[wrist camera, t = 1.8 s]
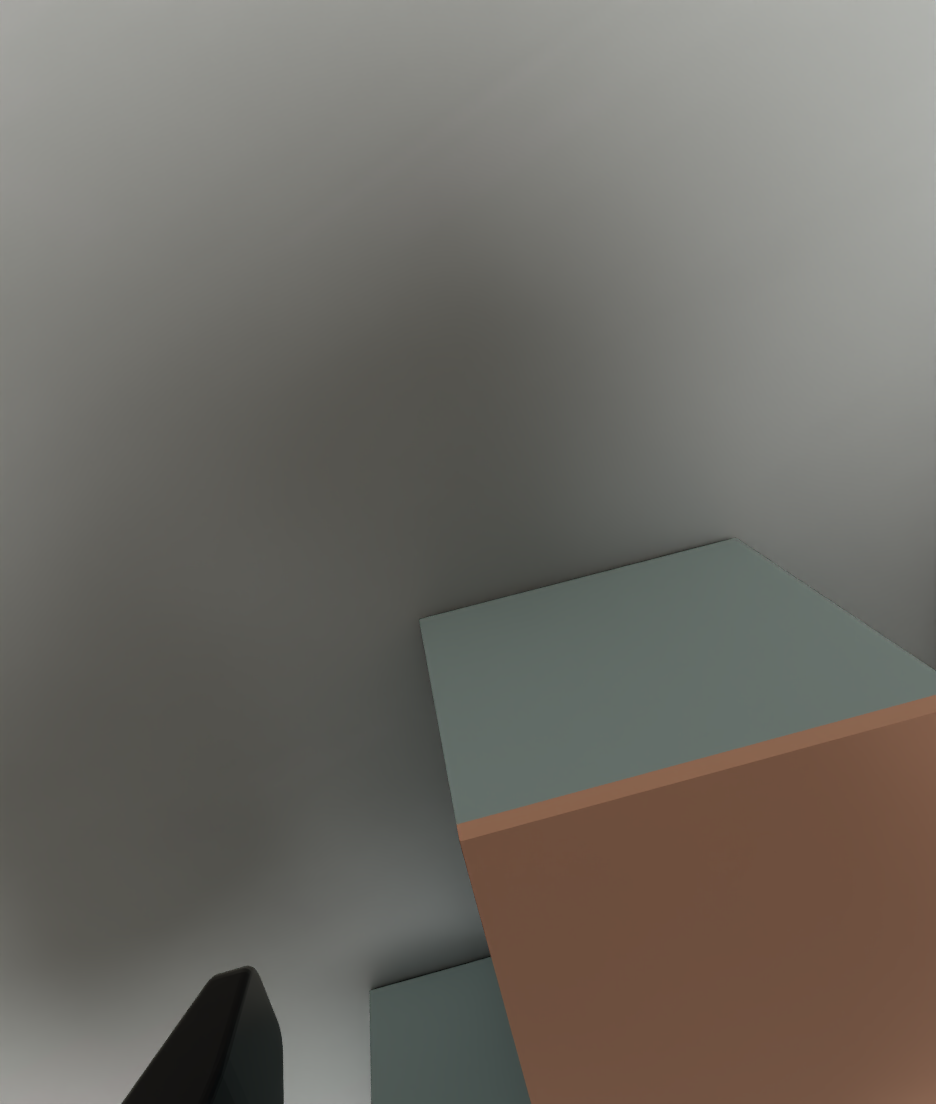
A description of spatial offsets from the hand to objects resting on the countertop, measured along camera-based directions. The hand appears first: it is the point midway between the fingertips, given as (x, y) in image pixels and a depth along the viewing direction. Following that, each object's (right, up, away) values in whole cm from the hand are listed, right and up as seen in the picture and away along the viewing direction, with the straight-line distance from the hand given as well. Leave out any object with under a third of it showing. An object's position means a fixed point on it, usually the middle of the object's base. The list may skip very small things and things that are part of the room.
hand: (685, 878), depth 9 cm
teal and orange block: (0, +1, +2) cm, 3 cm away
